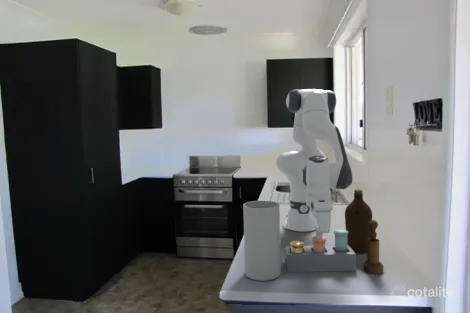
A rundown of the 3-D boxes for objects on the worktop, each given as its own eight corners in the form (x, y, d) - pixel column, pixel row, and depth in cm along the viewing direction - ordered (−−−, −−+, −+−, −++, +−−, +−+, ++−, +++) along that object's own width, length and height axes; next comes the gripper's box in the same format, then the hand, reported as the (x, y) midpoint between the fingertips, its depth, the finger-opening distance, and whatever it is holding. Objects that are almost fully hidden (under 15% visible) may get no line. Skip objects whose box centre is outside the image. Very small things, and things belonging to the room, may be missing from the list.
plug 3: (332, 250, 138) (332, 229, 137) (346, 249, 137) (346, 229, 137) (335, 254, 133) (335, 233, 132) (349, 254, 132) (349, 233, 132)
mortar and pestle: (386, 269, 130) (386, 220, 129) (379, 275, 125) (379, 224, 124) (367, 265, 135) (367, 217, 133) (360, 271, 130) (360, 221, 128)
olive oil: (377, 254, 146) (377, 191, 144) (351, 255, 145) (351, 193, 143) (365, 245, 157) (365, 187, 155) (340, 246, 156) (340, 188, 154)
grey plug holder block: (285, 261, 141) (284, 246, 141) (348, 260, 140) (348, 245, 140) (288, 271, 131) (287, 255, 131) (356, 270, 130) (356, 254, 130)
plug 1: (289, 261, 139) (289, 240, 138) (303, 260, 138) (302, 240, 138) (291, 266, 134) (291, 245, 133) (305, 266, 133) (304, 245, 133)
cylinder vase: (260, 264, 138) (259, 199, 136) (287, 273, 130) (286, 203, 128) (237, 275, 130) (235, 205, 127) (265, 285, 121) (263, 210, 119)
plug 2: (311, 256, 138) (310, 236, 137) (324, 256, 138) (324, 236, 137) (313, 261, 133) (313, 240, 133) (327, 261, 133) (327, 240, 132)
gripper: (305, 195, 144) (306, 230, 145) (314, 207, 124) (315, 247, 125) (321, 195, 144) (322, 230, 145) (333, 206, 124) (334, 246, 125)
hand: (319, 238), depth 135 cm, fingers closed, pressing on plug 2
